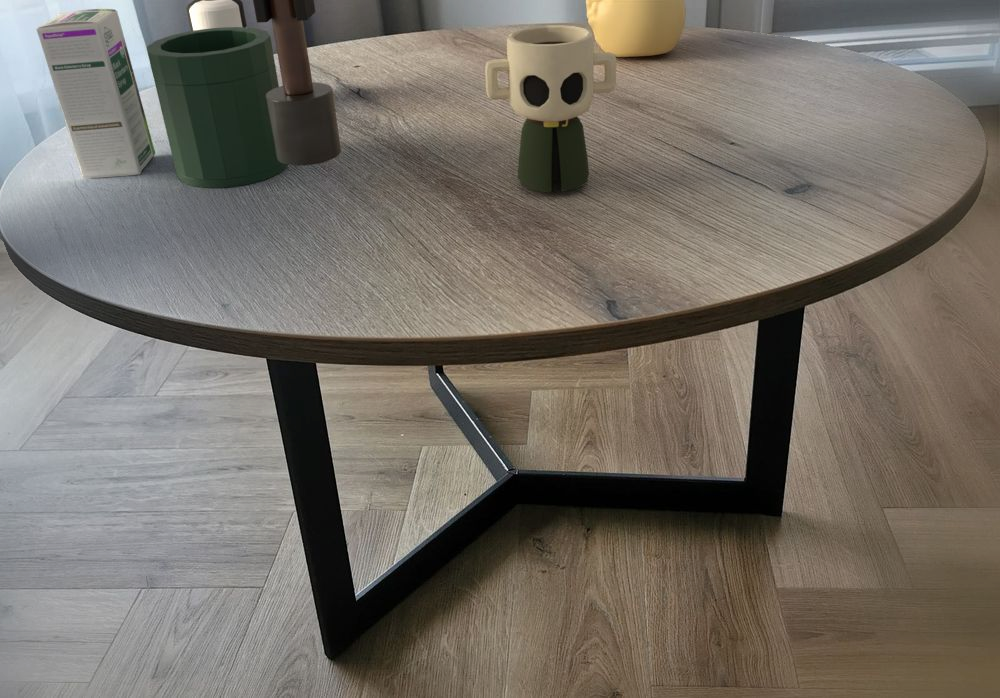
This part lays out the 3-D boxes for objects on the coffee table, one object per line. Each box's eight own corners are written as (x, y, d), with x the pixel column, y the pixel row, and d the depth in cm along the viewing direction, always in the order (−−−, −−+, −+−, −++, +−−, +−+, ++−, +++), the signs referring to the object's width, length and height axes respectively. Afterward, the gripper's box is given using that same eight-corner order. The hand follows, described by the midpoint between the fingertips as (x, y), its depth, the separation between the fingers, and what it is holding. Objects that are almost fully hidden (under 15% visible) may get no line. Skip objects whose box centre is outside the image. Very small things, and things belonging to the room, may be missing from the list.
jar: (160, 189, 89) (128, 58, 83) (198, 149, 98) (171, 29, 92) (274, 186, 88) (250, 54, 82) (302, 146, 97) (282, 24, 91)
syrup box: (141, 175, 92) (101, 20, 85) (79, 179, 92) (34, 24, 85) (156, 155, 97) (119, 6, 90) (98, 159, 97) (56, 10, 90)
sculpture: (610, 39, 128) (611, -47, 123) (696, 46, 123) (701, -44, 117) (573, 61, 120) (571, -31, 114) (663, 69, 115) (666, -27, 109)
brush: (269, 167, 73) (218, -107, 63) (285, 145, 77) (240, -115, 68) (334, 164, 73) (292, -111, 63) (346, 142, 77) (309, -119, 67)
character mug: (493, 204, 82) (484, 49, 75) (490, 174, 88) (482, 28, 81) (620, 196, 82) (623, 40, 75) (609, 166, 88) (610, 20, 81)
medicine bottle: (203, 102, 113) (180, -5, 107) (264, 94, 114) (245, -11, 108) (202, 119, 107) (178, 8, 101) (267, 111, 108) (247, 0, 102)
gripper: (356, -389, 60) (398, 1, 72) (121, -371, 61) (201, 10, 73) (332, -408, 54) (381, 24, 66) (70, -387, 55) (166, 34, 67)
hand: (286, 16), depth 70 cm, fingers closed on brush, 2 cm apart
